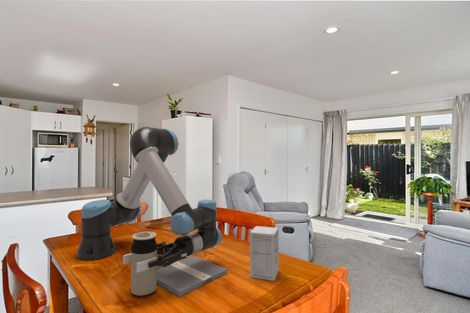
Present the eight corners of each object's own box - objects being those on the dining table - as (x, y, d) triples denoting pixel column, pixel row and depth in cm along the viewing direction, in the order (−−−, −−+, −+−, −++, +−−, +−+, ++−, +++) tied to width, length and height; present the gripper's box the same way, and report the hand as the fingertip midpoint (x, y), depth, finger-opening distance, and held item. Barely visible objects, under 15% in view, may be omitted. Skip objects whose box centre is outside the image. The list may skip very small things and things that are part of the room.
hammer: (147, 209, 165) (185, 203, 152) (151, 235, 164) (190, 230, 151) (140, 211, 160) (178, 205, 147) (144, 237, 158) (183, 233, 145)
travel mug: (131, 298, 80) (131, 240, 80) (130, 286, 88) (130, 232, 87) (158, 293, 83) (158, 237, 83) (155, 282, 91) (155, 230, 91)
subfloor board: (146, 277, 96) (146, 272, 96) (192, 259, 113) (192, 255, 113) (179, 296, 83) (179, 291, 83) (227, 273, 99) (227, 269, 99)
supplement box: (279, 270, 102) (279, 227, 102) (275, 281, 93) (275, 234, 93) (255, 267, 105) (255, 225, 105) (249, 277, 96) (249, 231, 96)
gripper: (206, 262, 92) (147, 287, 75) (171, 248, 106) (115, 266, 89) (206, 241, 92) (148, 261, 75) (171, 229, 106) (115, 243, 89)
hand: (130, 263), depth 82 cm, fingers closed on travel mug, 8 cm apart
